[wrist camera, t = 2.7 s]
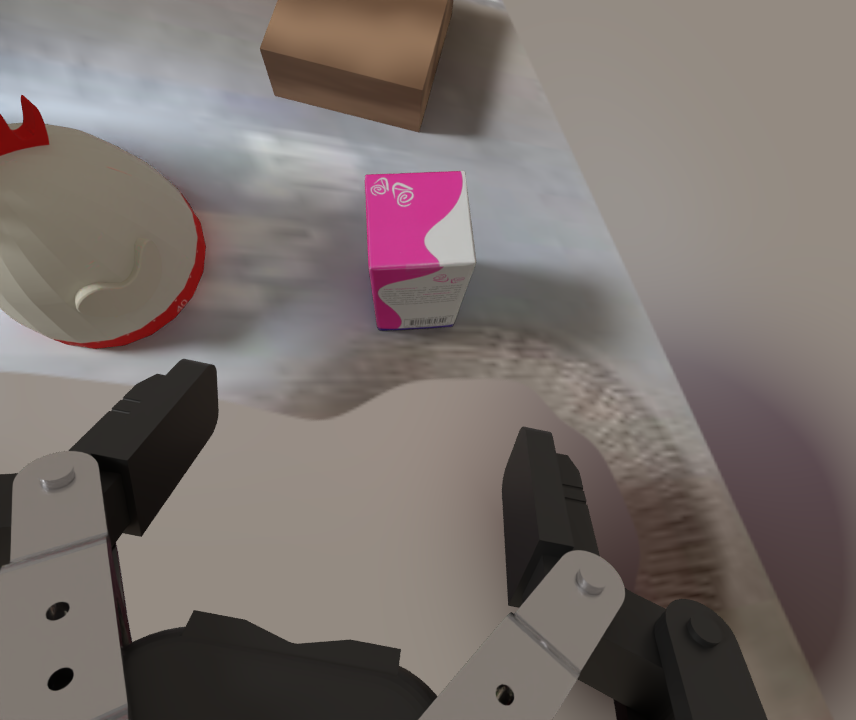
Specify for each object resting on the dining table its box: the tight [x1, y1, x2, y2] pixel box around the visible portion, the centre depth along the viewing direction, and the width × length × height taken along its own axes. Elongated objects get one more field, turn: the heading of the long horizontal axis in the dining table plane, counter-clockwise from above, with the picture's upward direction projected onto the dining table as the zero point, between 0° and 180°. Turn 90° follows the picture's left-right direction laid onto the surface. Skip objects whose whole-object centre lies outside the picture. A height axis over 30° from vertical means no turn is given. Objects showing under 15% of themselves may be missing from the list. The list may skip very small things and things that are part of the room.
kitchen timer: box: [0, 95, 206, 349], centre depth 29 cm, size 14×14×15 cm
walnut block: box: [260, 0, 453, 132], centre depth 40 cm, size 12×12×5 cm
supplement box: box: [365, 171, 476, 331], centre depth 32 cm, size 6×6×12 cm
